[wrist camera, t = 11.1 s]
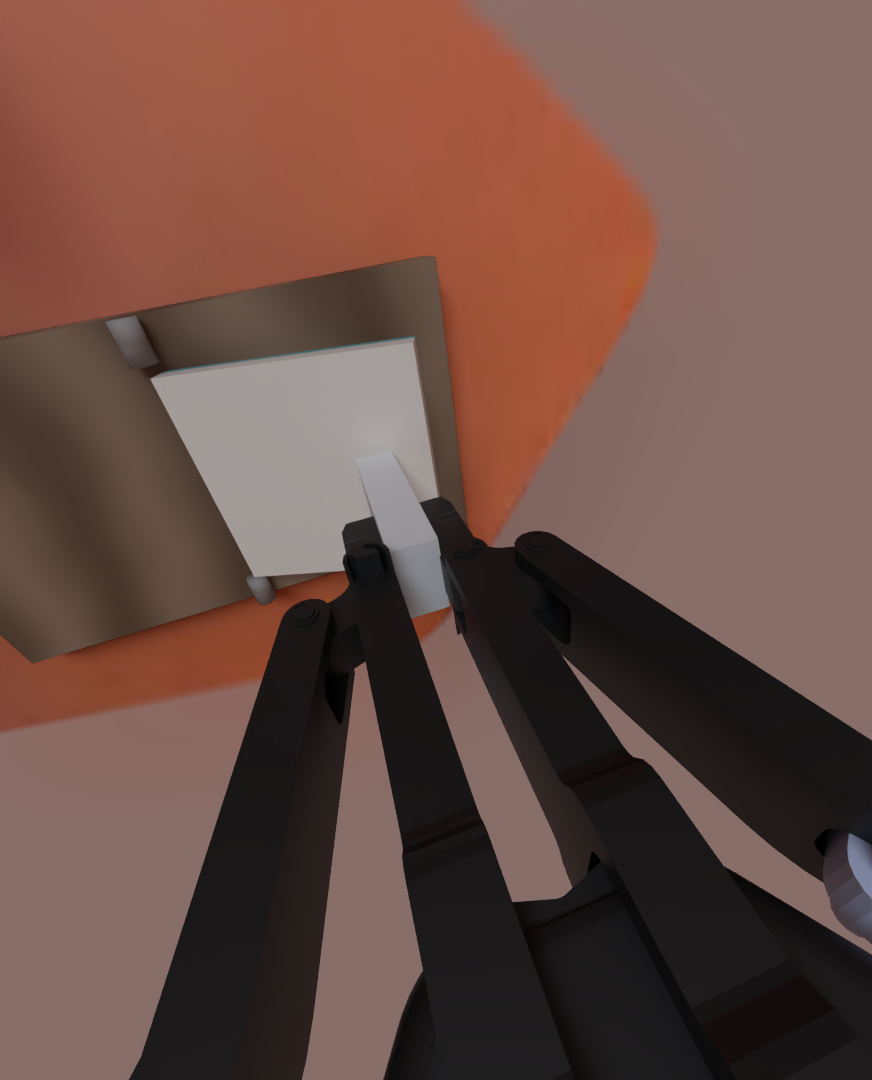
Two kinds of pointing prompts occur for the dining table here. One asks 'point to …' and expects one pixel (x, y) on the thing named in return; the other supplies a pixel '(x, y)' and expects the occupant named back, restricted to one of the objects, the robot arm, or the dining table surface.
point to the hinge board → (166, 450)
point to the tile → (301, 443)
